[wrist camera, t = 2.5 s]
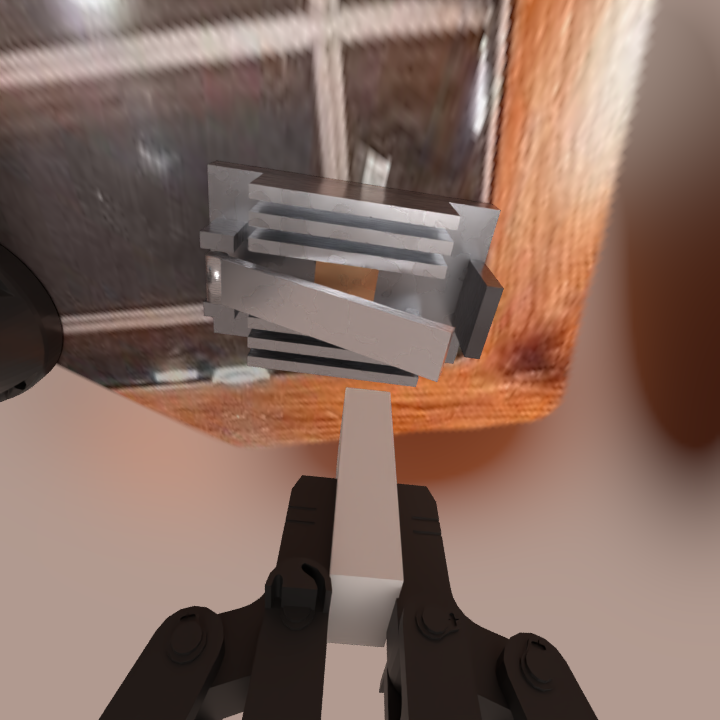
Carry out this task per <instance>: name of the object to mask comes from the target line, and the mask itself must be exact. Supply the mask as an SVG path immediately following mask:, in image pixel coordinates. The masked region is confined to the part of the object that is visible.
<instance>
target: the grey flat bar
mask: <svg viewBox="0 0 720 720" xmlns="http://www.w3.org/2000/svg"><path fill="white" fill-rule="evenodd" d="M205 262H206V283H207V301H208V302H210V303H212V304H219V305H220V304H222V305H225V306H228V307H230V308H233V309H236V310H239V311H241V312H244V313H247V314H250V315H253V316H255V317H258V318H261V319H264V320H266V321H269V322H272V323H275V324H277V325H280V326H283V327H286V328H289V329H291V330H294V331H297V332H300V333H302V334H305V335H308V336H311V337H314V338H316V339H319V340H322V341H325V342H327V343H330V344H333V345H336V346H339V347H341V348H344V349H347V350H350V351H352V352H355V353H358V354H361V355H364V356H366V357H369V358H372V359H375V360H377V361H380V362H383V363H386V364H388V365H391V366H394V367H397V368H400V369H402V370H405V371H408V372H411V373H413V374H416V375H419V376H422V377H425V378H427V379H430V380H433V381H436V382H437V381H438V379H439V378H440V376H441V373H442V370H443V366H444V363H445V360H446V356H447V353H448V349H449V346H450V343H451V339H452V336H453V333H454V329H455V327H451V326H448V325H445V324H442V323H439V322H436V321H432V320H429V319H426V318H423V317H420V316H417V315H414V314H410V313H407V312H404V311H401V310H398V309H395V308H392V307H388V306H385V305H382V304H379V303H376V302H373V301H370V300H366V299H363V298H360V297H357V296H354V295H351V294H348V293H344V292H341V291H338V290H335V289H332V288H329V287H325V286H322V285H319V284H316V283H313V282H310V281H307V280H303V279H300V278H297V277H294V276H291V275H288V274H285V273H281V272H278V271H275V270H272V269H269V268H266V267H263V266H259V265H256V264H253V263H250V262H247V261H244V260H241V259H237V258H234V257H231V256H229V254H227V253H225V252H220V251H211V252H207V253H206V254H205Z"/></svg>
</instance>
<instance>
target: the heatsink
mask: <svg viewBox="0 0 720 720" xmlns="http://www.w3.org/2000/svg"><path fill="white" fill-rule="evenodd" d="M207 166H208V191H209V217H210V224H208V225H207V226H206V227H204V228H203V229H202V230H201V231H200V248H206V249H211V251H220V252H225V253H227V254H229V256H231V257H234V258H237V259H241V260H244V261H247V262H250V263H253V264H256V265H259V266H263V267H266V268H269V269H272V270H275V271H278V272H281V273H285V274H288V275H291V276H294V277H297V278H300V279H303V280H307V281H310V282H313V283H316V284H319V285H322V286H325V287H329V288H332V289H335V290H338V291H341V292H344V293H348V294H351V295H354V296H357V297H360V298H363V299H366V300H370V301H373V302H376V303H379V304H382V305H385V306H388V307H392V308H395V309H398V310H401V311H404V312H407V313H410V314H414V315H417V316H420V317H423V318H426V319H429V320H432V321H436V322H439V323H442V324H445V325H448V326H451V327H455V329H454V333H453V336H452V339H451V343H450V346H449V349H448V353H447V356H446V360H445V363H452V364H453V363H454V360H455V356H456V353H457V350H458V347H459V344H460V347H461V349H462V352H463V354H464V357H468V358H475V359H480V356H481V353H482V350H483V347H484V344H485V341H486V338H487V335H488V332H489V330H490V327H491V324H492V321H493V318H494V315H495V312H496V309H497V306H498V303H499V301H500V298H501V295H502V292H503V289H504V288H503V287H502V286H501V284H500V283H499V282H498V280H497V279H496V278H495V276H494V275H493V274H492V272H491V271H490V270H489V268H488V267H487V266H486V264H485V259H486V256H487V253H488V250H489V247H490V243H491V240H492V237H493V234H494V230H495V227H496V224H497V221H498V217H499V214H500V211H501V210H499V209H498V208H497V207H496V206H494V205H493V204H488V203H482V202H475V201H469V200H463V199H456V198H450V197H444V196H438V195H431V194H425V193H419V192H412V191H406V190H400V189H393V188H387V187H381V186H374V185H368V184H362V183H355V182H349V181H343V180H336V179H330V178H324V177H317V176H311V175H305V174H298V173H292V172H286V171H279V170H273V169H267V168H261V167H254V166H248V165H242V164H235V163H229V162H223V161H215V162H212V163H210V164H207ZM203 306H204V316H210V317H213V318H214V333H222V334H229V335H237V336H245V337H248V347H249V348H251V350H250V352H249V354H248V362H247V366H253V367H261V368H269V369H277V370H285V371H293V372H301V373H309V374H317V375H325V376H333V377H341V378H349V379H357V380H365V381H373V382H381V383H389V384H397V385H404V386H412V387H416V385H417V381H418V375H416V374H413V373H411V372H408V371H405V370H402V369H400V368H397V367H394V366H391V365H388V364H386V363H383V362H380V361H377V360H375V359H372V358H369V357H366V356H364V355H361V354H358V353H355V352H352V351H350V350H347V349H344V348H341V347H339V346H336V345H333V344H330V343H327V342H325V341H322V340H319V339H316V338H314V337H311V336H308V335H305V334H302V333H300V332H297V331H294V330H291V329H289V328H286V327H283V326H280V325H277V324H275V323H272V322H269V321H266V320H264V319H261V318H258V317H255V316H253V315H250V314H247V313H244V312H241V311H239V310H236V309H233V308H230V307H228V306H225V305H222V304H220V305H219V304H212V303H210V302H208V301H207V298H206V299H205V301H204V302H203Z"/></svg>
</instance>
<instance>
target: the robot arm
mask: <svg viewBox="0 0 720 720" xmlns="http://www.w3.org/2000/svg"><path fill="white" fill-rule="evenodd" d="M61 349H62V329H61V324H60V320H59V317H58V314H57V311H56V309H55V307H54V305H53V303H52V301H51V299H50V297H49V295H48V294H47V292H46V291H45V289H44V288H43V286H42V285H41V283H40V282H39V281H38V280H37V278H36V277H35V276H34V275H33V274H32V273H31V271H30V270H29V269H28V268H27V267H26V266H25V265H24V264H23V263H22V262H21V261H20V260H18V259H17V258H16V257H15V256H14V255H13V254H11V253H10V252H9V251H8V250H6V249H5V248H4V247H2V246H1V245H0V402H2V401H4V400H7V399H10V398H13V397H15V396H17V395H20V394H21V393H23V392H25V391H27V390H28V389H30V388H31V387H33V386H34V385H35V384H36V383H37V382H38V381H40V380H41V379H42V378H43V377H44V376H45V375H46V374H48V373H49V372H50V371H51V370H52V369H53V367H54V366H55V365H56V363H57V361H58V359H59V356H60V353H61ZM386 638H387V663H386V667H385V669H384V673H383V675H382V679H381V683H380V689H379V692H380V693H384V704H385V705H384V706H385V720H598V719H597V717H596V715H595V713H594V711H593V710H592V708H591V706H590V704H589V702H588V701H587V699H586V697H585V695H584V693H583V691H582V690H581V688H580V686H579V684H578V682H577V681H576V679H575V677H574V675H573V673H572V671H571V670H570V668H569V666H568V664H567V662H566V661H565V660H564V659H563V657H562V656H561V654H560V653H559V652H558V650H557V649H556V648H555V647H554V646H553V645H552V644H550V643H549V642H548V641H547V640H546V639H544V638H542V637H540V636H537V635H535V634H532V633H518V634H516V635H514V636H512V637H510V639H507V638H505V637H503V636H501V635H498V634H496V633H494V632H491V631H489V630H487V629H485V628H482V627H480V626H479V625H477V624H475V623H474V622H472V621H471V620H470V619H469V618H468V617H466V616H465V615H464V614H463V612H462V611H461V610H460V609H459V607H458V606H457V604H456V602H455V600H454V598H453V596H452V593H451V588H450V582H449V577H448V571H447V565H446V559H445V553H444V547H443V541H442V537H441V529H440V523H439V517H438V511H437V505H436V501H435V500H434V498H433V496H432V495H431V493H430V492H429V490H428V488H427V487H426V486H416V485H405V484H397V481H396V467H395V454H394V441H393V425H392V411H391V397H390V392H385V391H375V390H366V389H357V388H348V387H346V391H345V399H344V407H343V415H342V423H341V431H340V439H339V448H338V459H337V469H336V479H334V478H324V477H314V476H304V475H302V476H301V478H300V479H299V480H298V482H297V483H296V484H295V486H294V487H293V488H292V491H291V496H290V501H289V507H288V511H287V516H286V522H285V526H284V531H283V535H282V540H281V545H280V551H279V555H278V561H277V565H276V568H275V569H274V570H273V571H272V572H271V573H270V575H269V577H268V579H267V581H266V584H265V593H264V594H263V595H262V597H260V599H258V600H256V601H255V602H253V603H252V604H250V605H248V606H245V607H242V608H239V609H235V610H232V611H228V612H224V613H220V614H216V613H215V612H213V611H212V610H210V609H208V608H207V607H199V606H192V607H188V608H184V609H181V610H179V611H177V612H176V613H174V614H173V615H171V616H169V617H168V618H167V619H166V620H165V621H164V622H163V623H162V624H161V626H160V627H159V628H158V629H157V630H156V632H155V633H154V635H153V636H152V638H151V640H150V641H149V643H148V644H147V646H146V647H145V649H144V650H143V652H142V653H141V655H140V656H139V658H138V660H137V661H136V663H135V664H134V666H133V667H132V669H131V671H130V672H129V673H128V675H127V677H126V678H125V680H124V681H123V683H122V684H121V686H120V687H119V689H118V691H117V692H116V694H115V695H114V697H113V698H112V700H111V701H110V703H109V704H108V706H107V707H106V709H105V710H104V712H103V714H102V715H101V717H100V718H99V720H222V719H223V718H226V717H229V716H232V715H235V714H238V713H241V712H243V717H242V720H321V710H322V697H323V684H324V671H325V658H326V646H327V645H326V644H327V643H340V644H351V645H363V646H375V647H384V645H385V641H386Z"/></svg>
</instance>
